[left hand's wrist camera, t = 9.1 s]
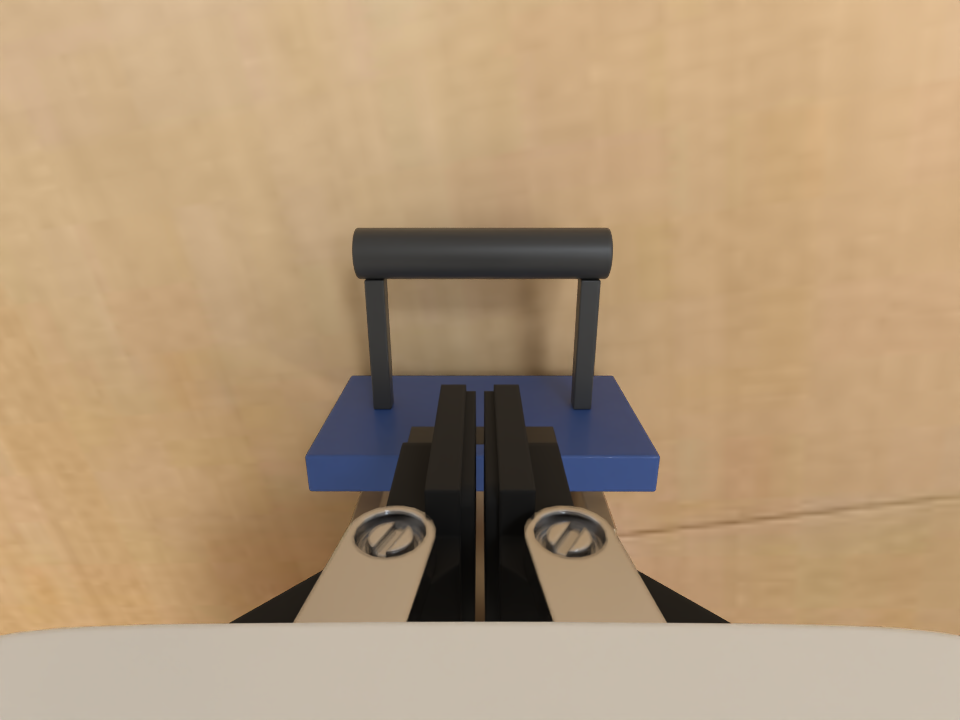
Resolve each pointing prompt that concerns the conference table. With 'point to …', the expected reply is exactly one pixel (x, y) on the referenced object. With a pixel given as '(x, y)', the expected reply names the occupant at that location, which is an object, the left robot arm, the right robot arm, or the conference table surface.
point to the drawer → (545, 399)
